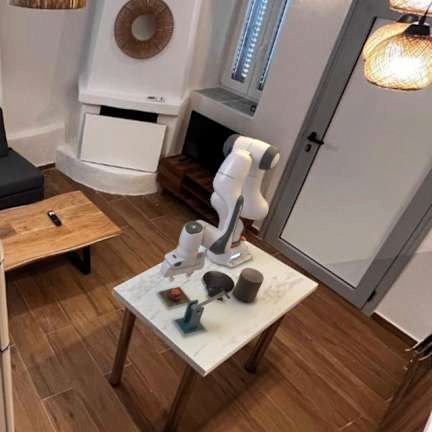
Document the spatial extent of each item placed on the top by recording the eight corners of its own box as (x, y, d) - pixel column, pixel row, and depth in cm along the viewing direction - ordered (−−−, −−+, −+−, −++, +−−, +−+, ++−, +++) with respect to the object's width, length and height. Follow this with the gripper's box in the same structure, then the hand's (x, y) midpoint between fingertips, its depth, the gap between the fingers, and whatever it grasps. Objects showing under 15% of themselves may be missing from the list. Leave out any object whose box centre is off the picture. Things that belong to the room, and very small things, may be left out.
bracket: (193, 316, 178) (200, 295, 170) (204, 330, 172) (212, 309, 164) (174, 321, 176) (180, 300, 168) (184, 336, 170) (191, 314, 162)
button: (176, 290, 187) (176, 287, 186) (180, 295, 184) (181, 293, 183) (169, 292, 186) (170, 289, 185) (173, 297, 183) (174, 294, 182)
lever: (222, 289, 170) (221, 286, 169) (230, 298, 166) (230, 295, 164) (188, 306, 170) (188, 302, 168) (196, 315, 166) (195, 312, 164)
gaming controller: (224, 301, 184) (217, 293, 183) (213, 305, 187) (206, 297, 185) (221, 286, 192) (214, 278, 190) (211, 290, 195) (204, 283, 193)
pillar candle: (241, 304, 184) (250, 282, 175) (228, 289, 192) (237, 267, 183) (259, 301, 186) (270, 278, 177) (246, 286, 193) (256, 263, 184)
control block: (178, 289, 192) (180, 284, 190) (189, 302, 185) (190, 297, 183) (158, 294, 189) (159, 289, 187) (168, 308, 182) (169, 303, 180)
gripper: (202, 246, 176) (195, 269, 184) (161, 255, 171) (156, 278, 179) (211, 255, 171) (203, 278, 179) (169, 265, 166) (163, 288, 174)
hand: (179, 278), depth 179 cm, fingers open, 7 cm apart
